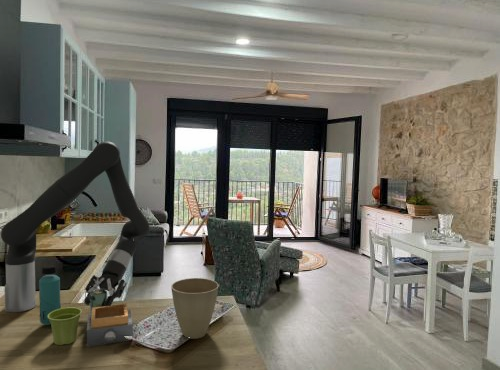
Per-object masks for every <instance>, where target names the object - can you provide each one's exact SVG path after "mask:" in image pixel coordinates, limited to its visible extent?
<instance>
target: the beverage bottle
mask: <svg viewBox="0 0 500 370" xmlns="http://www.w3.org/2000/svg"><path fill="white" fill-rule="evenodd" d="M56 267H57V266H56V265H54V264H53V265H52V264H51V265H49V264H48V265H44V266H43V267H42V269H41V270H42V272H41V274H43V276H42V277H41V278H40V279H39V280H38V287H39V288H38V289H39V290H38V292H39V295H38V298H39V299H38V301H39V315H38V316H39V322H40V323H41V324H42V325H51V323H50V321H49V319H48V314H49V313H51V312H52V311H55V310H57V309H61V308H62V306H61V305H62V304H61V297H62V296H61V278H60V277H59V276H58V274H57V275H56V274H55V273H57V269H56Z"/></svg>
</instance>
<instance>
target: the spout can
mask: <svg viewBox="0 0 500 370" xmlns="http://www.w3.org/2000/svg"><path fill="white" fill-rule="evenodd" d="M95 290H96V289H95ZM86 296H87V295H86ZM87 298H88V299H90V304H89V306H90V307H89V310H90V312H89V315H91V314H92V308H94V307H103V306H104V304H105V302H106V300H107V298H108V291H107V290H96V291H93V292H91V293H90V294H89V295H88V296H87Z"/></svg>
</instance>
